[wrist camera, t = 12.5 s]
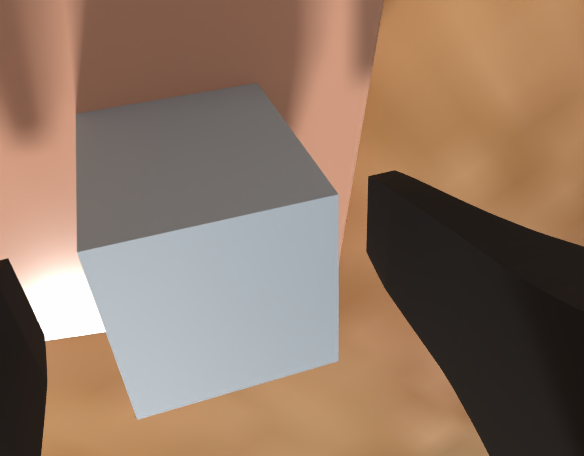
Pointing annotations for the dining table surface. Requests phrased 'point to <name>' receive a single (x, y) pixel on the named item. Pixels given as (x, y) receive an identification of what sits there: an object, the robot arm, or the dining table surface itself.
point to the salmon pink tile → (154, 86)
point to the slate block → (206, 245)
